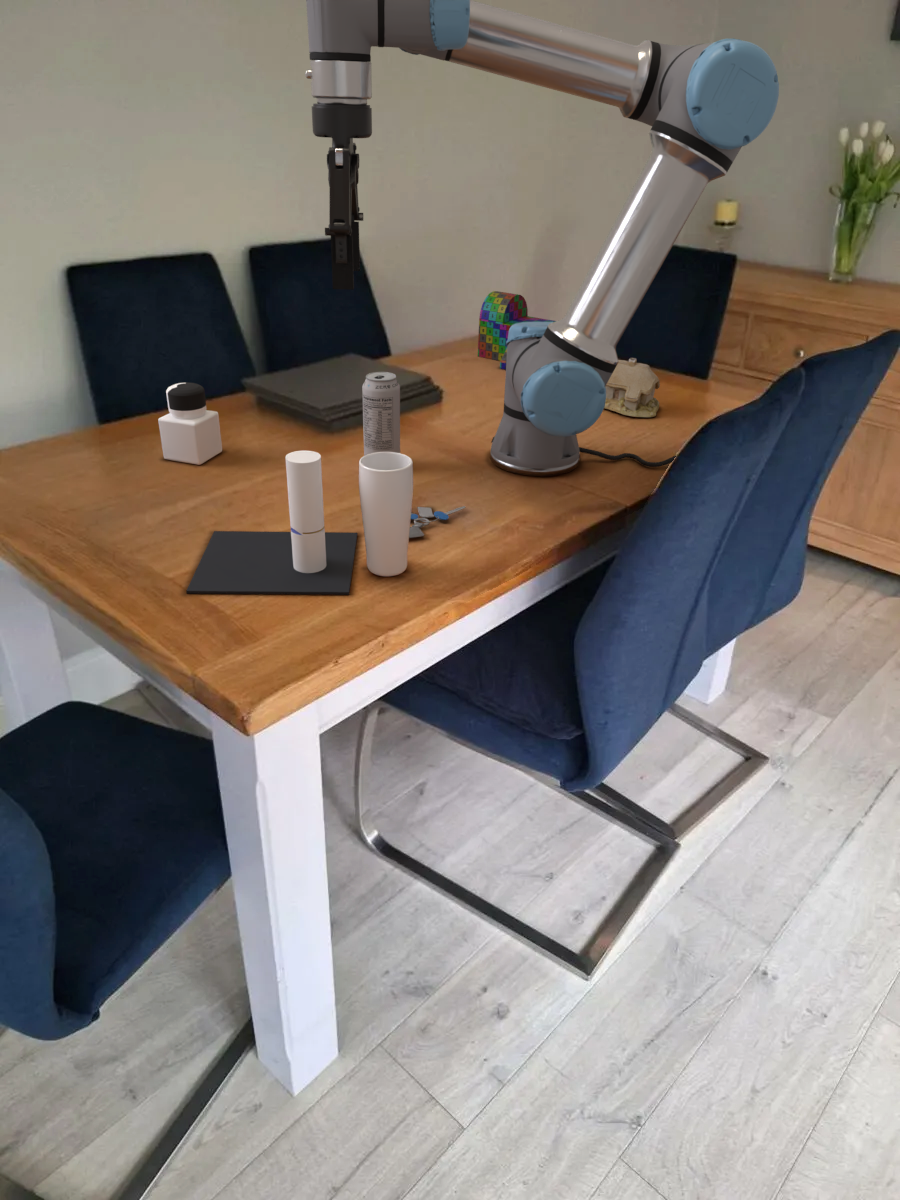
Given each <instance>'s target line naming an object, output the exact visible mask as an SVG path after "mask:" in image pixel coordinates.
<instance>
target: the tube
mask: <svg viewBox="0 0 900 1200" xmlns="http://www.w3.org/2000/svg"><path fill="white" fill-rule="evenodd" d="M285 469H286V472H285V473H286V484H287V485H286V486H287V499H288V512H289V513H288V514H289V524H290V525H289V526H290V532H291V540H292V554H293V567H294V569H295V570H297V571H299V572H302V573H315V572H319V571H321V570H323V569H324V568H325V567H326V546H325V532H326V530H325V528H326V527H325V510H324V509H325V508H324V490H323V470H322V455H321V454H320V453H319V452H317V451H313V450H305V449H303V450H295V451H291V452H289V453H287V454H286V455H285Z"/></svg>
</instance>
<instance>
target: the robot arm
mask: <svg viewBox="0 0 900 1200" xmlns="http://www.w3.org/2000/svg"><path fill="white" fill-rule="evenodd" d="M305 3H306V19H307V35H308V36H307V37H308V52H309V53H308V54H309V60H310V61H309V66H310V68H311V69H306V70H305V73H304V75H305V78H306V79H309V80H311V81H310V91H311V97H312V98H313V99H316V103H313V104H312V106H311V124H312V126H311V127H312V133H313V135H314V137H317V138H331V146H330V147H329V148H328V151H327V154H326V166H327V169H328V170H327V171H328V173H327V180H328V186H329V212H328V213H329V219H328V221H329V222H328V223H329V224H328V227H324V236H325V237H326V236H327V237H329V236H330V257H331V279H332V290H347V291H348V290H349V291H350V290H352V291H354V289H355V281H354V280H355V276H354V273H355V272H360V271H361V258H360V257H361V255H360V253H361V252H360V251H361V250H360V221H361V222H363V221H364V212H360V209H361V208H360V207H359V189H358V184H359V182H360V181H359V180H360V179H359V178H360V175H359V173H360V172H359V169H360V153H357V145H356V142H354V139H369V138H370V137H371V136H372V133H373V110H372V107H371V105H370V104H368V100H371V99H372V98H373V87H372V85H373V84H372V77H373V75H372V60H371V59H372V58H371V57H372V56H371V52H372V51H371V49H372V47H378V48H397V49H399V50H401V51H402V52H404V53H408V54H411V55H415V56H419V55H420V56H424V57H429V58H433V59H436V60H440V61H446V62H449V63H453V64H455V65H456V64H457V65H460V66H465V67H469V68H470V69H471V68H472V69H476V70H479V71H482V72H485V73H486V72H487V73H490V74H493V75H498V76H501V77H504V78H509V79H512V80H516V81H520V82H523V83H528V84H531V85H535V86H538V87H542V88H546V89H550V90H553V91H557V92H561V93H565V94H569V95H572V96H575V97H580V98H583V99H587V100H591V101H594V102H598V103H602V104H605V105H609V106H612V107H616V108H618V109H619V111H620V113H621V116H622V118H625V119H629V120H634V121H636V122H639V123H642V124H645V125H647V126H650V127H651V128H650V130H649V132H648V136H649V140H650V145H651V152H650V154H649V156H648V157H647V160H646V162H645V164H644V166H643V168H642V169H641V171H640V173H639V175H638V177H637V179H636V181H635V182H634V185H633V187H632V188H631V190H630V192H629V194H628V195H627V198H626V200H625V202H623V203H624V204H623V205H622V207H621V209H620V211H619V213H618V215H617V217H616V218H615V221H614V222H613V224H612V226H611V228H610V230H609V231H608V234H607V235H606V237H605V239H604V241H603V243H602V245H601V247H600V249H599V251H598V253H597V255H596V256H595V258H594V260H593V262H592V264H591V266H590V267H589V269H588V272H587V274H586V275H585V277H584V279H583V281H582V283H581V285H580V287H579V288H578V290H577V292H576V294H575V296H574V298H573V300H572V302H571V303H570V305H569V307H568V309H567V311H566V313H565V315H564V317H562V318H561V319H559V320H555V321H556V322H522V323H516V324H513V325H512V326H511V327H510V329H509V333H508V340H507V341H506V345H507V361H506V369H505V379H504V397H503V398H504V399H503V412H502V417H501V419H500V422H499V425H498V427H497V430H496V433H495V435H494V436H493V437H492V439H491V442H490V443H491V445H490V450H489V451H490V454H489V459H490V462H491V463H492V464H493V465H494V466H496V467H498V468H500V469H501V470H503V471H506V472H509V473H513V474H517V475H522V476H523V475H524V476H529V477H551V476H558V475H563V474H567V473H569V472H572V471H574V470H576V469H577V468H578V467H579V465H580V460H581V459H580V458H581V453H583V454H587V455H590V456H596V457H599V458H602V459H604V460H605V459H606V460H609V461H621V460H623V459H631V460H634V461H636V462H638V463H639V464H640V465H642V466H644V467H646V468H647V467H648V468H660V467H664V466H666V465H669V464H672V463H673V462H672V461H673V460H674V458H675V457H676V455H677V454H675V455H673V456H671V457H669V458H667V459H664V460H661V461H647V460H645V459H643V458H641V456H639V455H637V454H635V453H630V452H623V453H621V454H616V455H613V454H608V453H604V452H601V451H598V450H594V449H590V448H585V447H581V446H579V445H580V444H579V440H578V437H577V435H578V434H582V433H583V432H585V431H586V430H588V429H589V428H591V427H592V426H593V425H595V424H596V422H597V421H598V420H599V418H600V417H601V416H602V413H603V412H604V410H605V408H604V406H605V402H606V388H605V386H606V384H607V382H608V380H609V379H610V377H611V375H612V373H613V371H614V370H615V368H616V366H617V364H618V362H619V361H618V360H619V358H618V357H619V356H618V353H617V345H618V343H619V342H620V340H621V338H622V336H623V334H624V332H625V331H626V329H627V327H628V325H629V324H630V322H631V320H632V318H633V317H634V315H635V313H636V312H637V309H638V308H639V306H640V304H641V303H642V301H643V299H644V297H645V295H646V293H647V292H648V290H649V288H650V287H651V285H652V283H653V281H654V279H655V278H656V276H657V274H658V272H659V271H660V269H661V267H662V266H663V264H664V262H665V260H666V258H667V257H668V255H669V253H670V251H671V250H672V248H673V246H674V244H675V242H676V240H677V239H678V237H679V236H680V234H681V232H682V230H683V228H684V226H685V225H686V223H687V221H688V220H689V217H690V216H691V214H692V212H693V210H694V209H695V207H696V205H697V203H698V202H699V200H700V198H701V196H702V194H703V192H704V191H705V190H706V187H707V185H708V184H709V183H711V182H712V181H714V180H717V179H720V178H723V177H725V176H726V175H727V173H728V172H729V170H730V169H731V167H732V165H733V163H734V161H735V160H736V158H737V157H738V155H739V153H740V151H741V149H742V147H745V146H747V145H749V144H750V143H752V142H753V141H754V140H756V139H757V138H758V137H759V136H760V135H761V134H762V133H764V131H765V130H766V128H768V126H769V124H770V123H771V121H772V120H773V116H774V115H775V113H776V109H777V107H778V102H779V96H780V82H779V76H778V71H777V69H776V65H775V63H774V62H773V60H772V58H771V56H770V55H769V54H768V53H767V52H766V50H764V49H763V48H762V47H761V46H759V45H757V44H756V43H753V42H751V41H747V40H742V39H739V38H722V39H720V40H716V41H715V42H707V43H697V44H686V45H685V44H684V45H683V44H682V45H679V44H678V45H677V44H667V43H660V42H657V41H654V40H653V41H652V40H649V39H645V40H643V41H642V42H640V43H639V44H638V45H634V44H632V43H631V44H630V43H627V42H624V41H620V40H616V39H613V38H610V37H606V36H602V35H599V34H595V33H591V32H588V31H584V30H580V29H577V28H574V27H571V26H567V25H562V24H558V23H555V22H552V21H549V20H544V19H540V18H537V17H534V16H530V15H527V14H523V13H519V12H516V11H513V10H509V9H505V8H501V7H498V6H494V5H490V4H486V3H483V2H481V1H476V0H306V1H305Z"/></svg>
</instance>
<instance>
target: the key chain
mask: <svg viewBox="0 0 900 1200" xmlns="http://www.w3.org/2000/svg"><path fill="white" fill-rule="evenodd" d="M466 508H467V506H465V505H463V506H460V507H456V508H454V509H451V510H448V511H446V512H444V511H441V510H437V511H436V510H435V511H434V512H433V510H432V507H428V506H417V511H418V514H416V513H413V511H411V521H413V524H412V525H411V526H410V531H409V539H415V538H420V537H424V536H425V533H424V532H423V531H422V528H423V527H426V526H428V525H429V524H430V523H433V522H436V521H437V520H441V521H447V520H449V517H450V515H452V514H455V513H457V512H459V511H461V510H465V509H466ZM428 518H436V519H433V520H429V519H428Z"/></svg>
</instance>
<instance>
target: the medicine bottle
mask: <svg viewBox="0 0 900 1200" xmlns="http://www.w3.org/2000/svg"><path fill="white" fill-rule="evenodd" d="M165 393H166V401H167V408H168V413H166V414H165V415H163V416H161V417H159V418H158V419H157V420H158V428H159V435H160V436H159V437H160V442H161V448H162V455H163V459H164V460H168V461H171V462H172V461H173V462H180V463H186V464H191V465H196V466H197V465H198V466H200V465H203V464H204V463H206V462H207V461H208V460H211V459H212V458H214V457H215V456H217V455H219V454H221V453H222V452H223V443H222V442H223V441H222V433H221V424H220V417H219V412H218V411H216V410H207V409H208V408H207V400H206V392H205V388H204V387H203V386H202V385H200V384H198V383H195V382H178V383H174V384H172V385H170V386H168V387H167V389H166V390H165Z"/></svg>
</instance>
